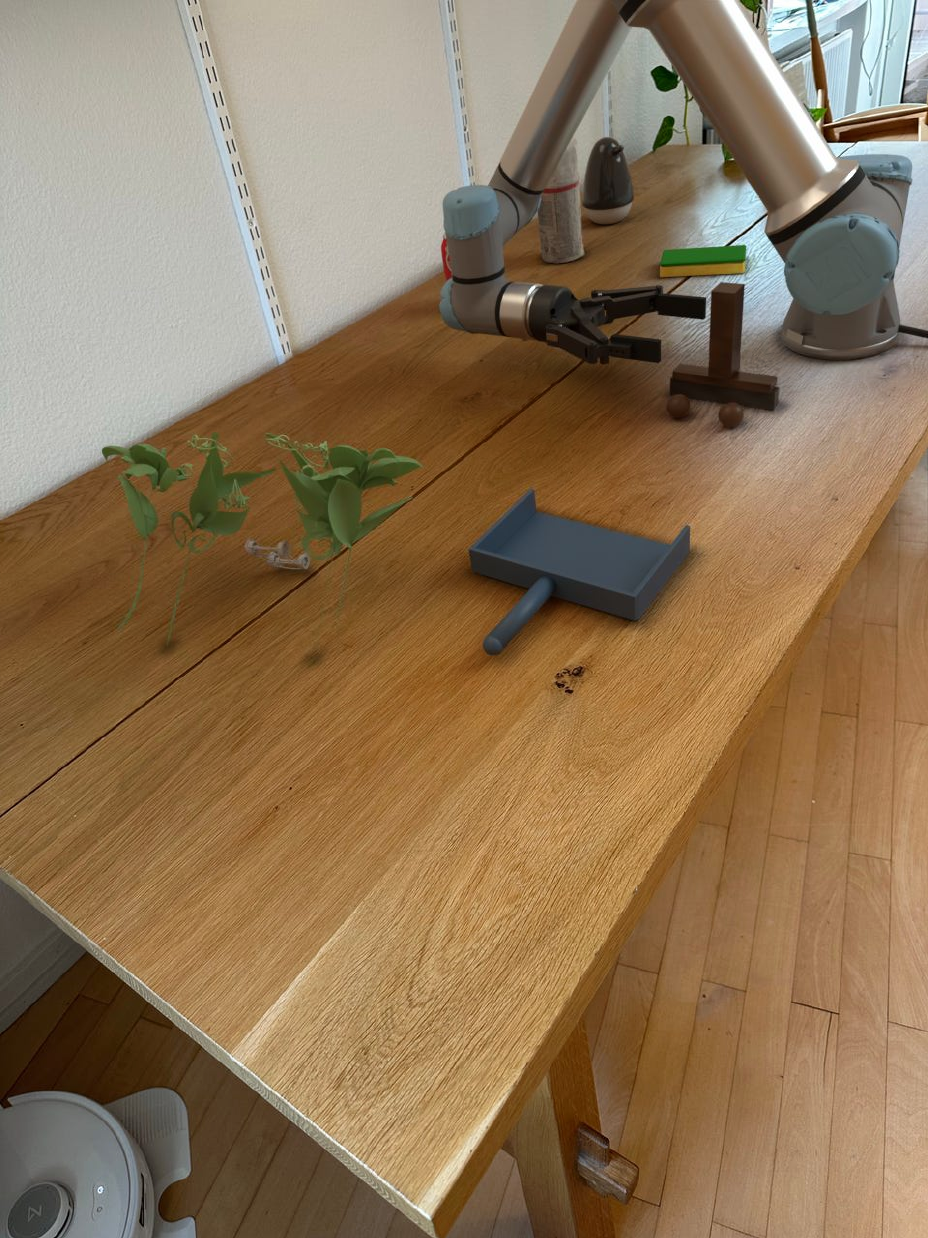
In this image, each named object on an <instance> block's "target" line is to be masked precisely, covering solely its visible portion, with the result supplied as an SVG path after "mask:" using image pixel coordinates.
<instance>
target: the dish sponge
mask: <svg viewBox="0 0 928 1238" xmlns="http://www.w3.org/2000/svg"><path fill="white" fill-rule="evenodd" d="M746 258H747V245H746V244H737V245H723V246H722V245H721V246H704V247H703V246H702V247H689V248H688V247H687V248H672V249H664V250H662V255H661V258H660V263H659V277H660V278H674V277H675V278H676V277H690V276H691V277H692V276H693V277H696V276H712V275H713V276H714V275H733V274H744V273H746Z"/></svg>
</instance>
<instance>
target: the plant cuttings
mask: <svg viewBox="0 0 928 1238" xmlns="http://www.w3.org/2000/svg"><path fill="white" fill-rule="evenodd" d="M211 434H212V435H211V438H206V437H200V438H199V436H198V435H197V434H194V435H192V438H191V440H187V444H189V447H191V448H194V449H197V450H198V452H200V453H204V456H205V457H206V458H205V459H206V461H205V463H204V465H203V468H202V470H201V471H200V475H199V478H198V481H197V486H196V487H195V489H194V491H193V492H192V494H191V496H190V499H189V504H188V505H189V506H188V508H189V514H190V517H191V518H190V519H189V518H188V516H187V515H186V514H185V513H184V512H182V511H178V510H176V511H173V512H172V513H171V515H170V516H171V517H170V527H171V530H172V534H173V536H174V539H175V542H176V544H177V546H178V547H179V548H180V549H182V548H184V547H185V545H186V543H187V536H186V533H185V532H186V530H183V531H182V532H181V534H183V542H181V541H180V540H179V538H178V537H177V535H176V533H175V528H174V527H175V520H176V518H178V517H181V518H182V519H183V520H184V521H185V522H186V524H187V525H188V527H189V529H190V531H191V533H194V534H193V537H192V538H191V540H190V541H189V543H188V551H189V552H188V555H187V559H186V562H185V566H184V568H183V574H182V577H181V582H180V583H179V588H178V591H177V595H176V600H175V603H174V607H173V612H172V615H171V620H170V624H169V629H168V635H167V643H166V647H167V648H168V646H169V643H170V639H171V634H172V630H173V625H174V621H175V617H176V613H177V608H178V603H179V600H180V595H181V591H182V587H183V584H184V583H183V582H184V578H185V574H186V570H187V566H188V562H189V558H190V554H191V553H192V554H200V553H202V552H205V551H206V550H207V549H208V548H209V547H210V546H211V545H213V543H214V542H215V541H216V539H217V537H218V535H219V536H231V535H235V534H236V533H238V532H239V531H240V529H241V528H242V527H243V526H242V525H243V524H244V522H245V519H246V517H247V516H248V514H249V511H250V509H251V507H250V506H248V501H250V497H249V496H248V495H243V493H242V491H241V489H242V488H244V487H245V486H248V485H249V484H251V483H253V482H254V481H256V480H258V479H259V478H267V476H268V475H270V474H271V473H273V472H276V471H278V468H277V467H273V468H271V469H267V470H261V471H259V472H253V471H235V472H234V471H233V472H231V473H227V474H224V468H226V467H227V466H228V465H230V464H232V462H233V456H232V455H231V454H230V453H229V452H228V451H227V450H228V449H227V447H225V446H222V443H219V442H218V441H217V440H218V439H220V436H219V434H218V432H216V431H214V432H212V433H211ZM264 434H265V436H266V439H265V442H266V443H268V444H269V445H271V446H273V447H275V448H279V449H281V450H286V451H291V453H292V455H293V456H294V458H295V461H296V462H297V464H298V466H299V468H300V470H301V471H299V470H297V469H294V468H291V470H290V469H289V468H288V467H287V466H286V465H285V464H284V462H282V460H281V459H280V458H279V456H277V457H278V461H279V463H280V465H281V468H282V471H283V473H284V475H285V477H286V478H287V481H288V482H289V484H290V486H291V488H292V490H293V492H294V503H295V506H296V507H297V508H296V511H297V513H298V515H299V518H300V521H301V523H302V525H303V528H304V531H305V533H306V535H304V536H303V537H302V539H301V546H302V549H303V550H304V553H303V554H300V555H299V556H298V558H296V559H295V558H294V557H292V556H291V555H290V554H291V544H290V542H289V541H288V540H287V539H286V540H283V541H282V542H279V543H278V544H277V546H276V547H269V546H260V545H259V543H258V541H257V540H254V539H252V538H249V539H247V541H246V542H245V545H244V546H243V547H242V548H243V549H244V550H246V553H247V555H249V556H257V557H258V558H260V559H261V560H263V561H264V562H267V563H268V565H269V567H270V568H281V569H287V570H307V569H308V568H309V565H310V562H311V558H312V559H316V560H326V559H327V560H328V559H329V558H331V561H330V566H329V572H328V576H330V574H331V569H332V563H333V557H334V555H335V556H338V555H339V554H340V553H341V552H342V549H343V545H344V546H345V547H347V548H349V550H348V556H347V561H346V565H345V566H346V567H345V572H344V577H343V584H342V589H341V595H340V600H339V606H338V616H337V621H339V620H340V614H341V607H342V601H343V597H344V596H343V595H344V590H345V584H346V579H347V573H348V568H349V562H350V555H351V551H352V550H354V551H355V549H354V548H353V547H352V546H353V544H354V543H356V542H357V541H359V540H360V539H362V538H363V537H365V536H366V535H367V534H369V533H370V532H371V531H373V530H374V529H375V528H377V527H378V526H379V525H380V524H382V523H383V522H384V521H385V520H386V519H388V518H389V517H390V516H391V515H392V514H393V513H394V512H396V511H397V510H398V509H399V508H400V507H401V506H402V505H404V504H405V503H406V502H408V501H410V500H413V498H414V496H410V497H407V498H405V499H402V500H400V501H397V502H394V503H391V504H390V505H387V506H385V507H382V508H380V509H378V510H376V511H374V512H373V513H371V514H370V515H367V516H366V517H364V518H363V519H362V520H361V516H362V510H363V501H362V495H363V491H365V490H369V489H373V488H377V487H381V486H384V485H389V486H391V487H395V485H397V484H398V482H397V481H396V480H395V479H398V478H400V477H403V476H405V475H408V474H410V473H411V472H413V471H415V470H417V469H419V468H422V469H425V466H423V464H422V463H420V462H419V461H418V460H417V459H415V458H412V457H409V456H405V455H396V454H395V453H394V452H393V451H392V450H391V449H389V448H387V447H379V448H377V449H375V450H373V451H372V452H370V454H368V451H367V449H368V447H366V448H364V449H361V450H358V449H357V448H355V447H353V446H350V445H348V444H347V445H346V444H338V445H335V446H333V447H331V448H328V441H327V440H325V441H324V442H323V443H319V446H313V444H312V443H310V442H307V443H306V444H301V445H300V444H299V442H298V441H297V440H296V441H294V442H293V444H294V445H293V446H292V444H290V443H289V442H288V441H290V437H289V436H287V435H285V434H281V435H279V436H277V435H276V434H275V435H274V434H271V433H269V432H264ZM284 438H285V439H286V440H285V439H284ZM199 441H205V442H203V443H201V446H198V443H197V442H199ZM209 441H211V442H210V443H208V442H209ZM270 441H271V442H270ZM272 442H275V443H277V445H276V444H274V443H272ZM280 442H281V443H283V444H282V446H281V444H280ZM285 446H287V447H288V448H287V447H285ZM301 446H302V449H301ZM159 450H160V449H158V448H157V447H155V446H153V445H151V444H148V443H137V444H134V445H131V447H130V448H126V447H122V446H119V445H107V446H104V447H102V449H101V454H102V456H103V457H104V459H105V460H106V462H107V463H109V462H110V461H109V460H108V458H109V457H111V456H115V455H116V456H119V455H120V456H121V457H119V459H120V460H121V461H122V462H124V463H126V464H129V463H130V465H129V467H128V468H127V469H126V470H124V471H122V473H123V474H125V476H126V477H125V476H123V475H121V474H119V473H117V474H115V476H116V477H117V478H118V480H119V481H120V484H121V486H122V488H123V491H124V494H125V498H126V501H127V505H128V509H129V512H130V515H131V519H132V521H133V524H134V526H135V529H136V531H137V532H138V534H139V535H140V537H141V539H142V540H143V541H144V544H143V545H144V547H143V556H142V563H141V571H140V576H139V581H138V582H139V583H138V587H137V591H136V594H135V597H134V600H133V602H132V605H131V607H130V610H129V611H128V613H127V614H126V616H125V617H124V619H123V621H122V622H121V623H120V624H119V626H118V627H116V630H121V628H122V627H124V625H125V624H126V623H127V622H128V621H129V619H130V618H131V616H132V615H133V613H134V611H135V609H136V607H137V604H138V601H139V598H140V594H141V589H142V585H143V575H144V569H145V568H144V567H145V557H146V546H147V539H148V536H150V535H151V534H152V533H153V532H154V531H156V530H157V528H158V526H159V516H158V514H157V511H156V509H155V507H154V505H153V503H152V502H151V500H152V494H153V492H154V491H155V492H159V493H165V492H166V491H168V490H169V489H170V488H171V487H172V485H173V484H174V483H175V482H179V483H181V482H183V481H186V480H189V477H191V476H193V473H194V470H193V467H194V465H193V464H192V463H187V462H184V463H183V464H181V465H180V467H177V468H174V469H173V468H170V465H169V461H168V460H167V459H166V457H167V448H166V447H165V446H162V448H161V451H159ZM299 450H301V453H300V452H299ZM309 450H310V451H314V452H316V453H318V454H319V455H320V456H321V457H322V461H324V463H323V465H320V464H317V463H315V462H312V461H311V460H310V459H308V458H307V457H306V456H305V454H304V453H305V452H306V451H309ZM207 451H209V452H207ZM219 451H221V452H223V453H226V454H227V455H228V456H229V457H230V461H229V462H228V461H226V460H225V459H222V458H221V455H220V452H219ZM323 452H324V453H325V454H324V453H323ZM311 458H312V459H315V458H317V455H312V457H311ZM374 461H375V462H374ZM223 462H224V463H223ZM372 462H374V463H372ZM371 463H372V464H371ZM311 464H312V465H313V466H312V465H311ZM316 466H317V467H320V468H322V470H325V469H326V470H327V469H329V468H330V466H331V468H332V469H331V470H327V471H325V472H322V473H319V472H318V471H317V469H316ZM185 467H186V468H188V469H190V474H188V473H187V471H186V469H185ZM293 472H294V473H295V474H296V475H295V474H294V473H293ZM145 475H146V476H147V477H149V479H150V483H151V492H150V496H149V498H148V497H147V496H146V495H145V494H144V493H143V492H142V491H141V490H140V489H138V488H137V489H136V488H135V485H133V483H132V482H131V481H130V480H129V479H130V478H132V476H135V477H142V476H145ZM157 487H159V488H158V489H157ZM233 498H234V499H233ZM232 499H233V500H234V501H233V502H234V503H232V501H231V500H232ZM219 500H221V502H222V504H223V506H224V509H232V508H234V509H236V510H237V509H239V508H240V509H245V510H243V511H226V510H225V511H224V510H219V506H220V501H219ZM297 501H298V502H299V503H300V505H301V507H299V506H298V504H297ZM228 505H229V506H228ZM302 511H306V513H307V514H306V513H303V512H302ZM191 521H192V522H191ZM197 529H200V530H202V531H204V532H208V533H211V534H213V536H212V538H211V540H210V541H209V542H208V543H207V544H206V545H205V546H204V547H202V548H201V549H196V548H195V542H196V540H197V538H198V537H199V539H200V542H204V541H206V535H205V534H204V533H199V534H197V535H195V532H196V530H197ZM201 535H202V536H203V538H201V537H200V536H201ZM312 539H313V540H319V541H318V547H321V545H320V542H322V541H327V542H328V543H329V545H330V546H329V547H330V548H329V549H328V551H327V552H326V553H324V554H321V555H315V554H313V553H312V552H311V550H310V542H311V540H312ZM330 539H332V541H331V540H330ZM324 544H325V542H323V543H322V545H324ZM261 551H270V552H269V553H261ZM287 557H289V558H287ZM282 558H284V559H282ZM282 564H291V565H296V566H297V568H296V567H287V566H284V565H282ZM327 582H330V577H328V578H327ZM328 585H329V583H327V585H326V590H325V591H326V592H325V596H324V600H323V601H324V602H323V605H326V604H325V603H326V598H327V592H328ZM324 609H325V606H322V612H321V616H323V614H324ZM322 620H323V617H321V618H320V623H319V629H318V634H317V639H316V643H315V648H314V652H313V655H312V659H314V657H315V654H316V649H317V645H318V641H319V635H320V630H321V625H322ZM338 626H339V624H337V625H336V629H338ZM336 647H338V644H336Z"/></svg>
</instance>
